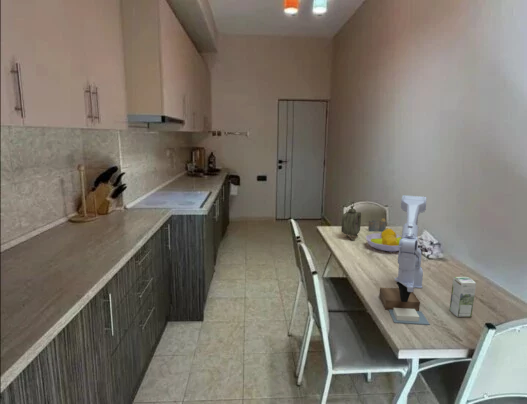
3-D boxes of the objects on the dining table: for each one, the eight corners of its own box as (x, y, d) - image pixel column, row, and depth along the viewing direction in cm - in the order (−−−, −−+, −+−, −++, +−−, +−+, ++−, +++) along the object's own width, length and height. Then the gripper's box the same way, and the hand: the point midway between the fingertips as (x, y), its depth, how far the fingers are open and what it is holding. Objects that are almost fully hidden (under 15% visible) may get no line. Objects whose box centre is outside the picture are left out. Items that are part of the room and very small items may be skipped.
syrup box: (463, 309, 140) (467, 275, 138) (472, 317, 135) (476, 282, 132) (449, 310, 140) (452, 276, 137) (457, 317, 134) (461, 282, 132)
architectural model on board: (384, 230, 255) (384, 217, 253) (385, 232, 252) (386, 218, 250) (368, 230, 255) (368, 217, 253) (369, 231, 252) (369, 218, 250)
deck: (410, 297, 151) (411, 288, 150) (419, 311, 139) (419, 302, 139) (379, 296, 153) (379, 287, 152) (385, 309, 141) (385, 300, 140)
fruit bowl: (356, 248, 216) (357, 230, 214) (380, 239, 234) (381, 222, 231) (399, 260, 195) (401, 240, 193) (421, 249, 213) (423, 231, 211)
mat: (421, 312, 139) (421, 311, 139) (429, 325, 129) (429, 324, 129) (388, 310, 140) (388, 309, 140) (394, 322, 131) (394, 321, 131)
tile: (419, 316, 131) (419, 321, 131) (414, 308, 136) (414, 313, 137) (397, 315, 132) (396, 320, 132) (393, 307, 138) (393, 312, 138)
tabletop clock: (354, 242, 227) (355, 204, 222) (340, 240, 232) (341, 203, 227) (359, 236, 240) (361, 200, 235) (346, 234, 244) (348, 199, 239)
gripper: (391, 261, 143) (389, 292, 145) (400, 275, 128) (397, 309, 131) (409, 261, 142) (406, 293, 144) (420, 276, 128) (417, 310, 130)
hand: (403, 301), depth 138 cm, fingers closed
